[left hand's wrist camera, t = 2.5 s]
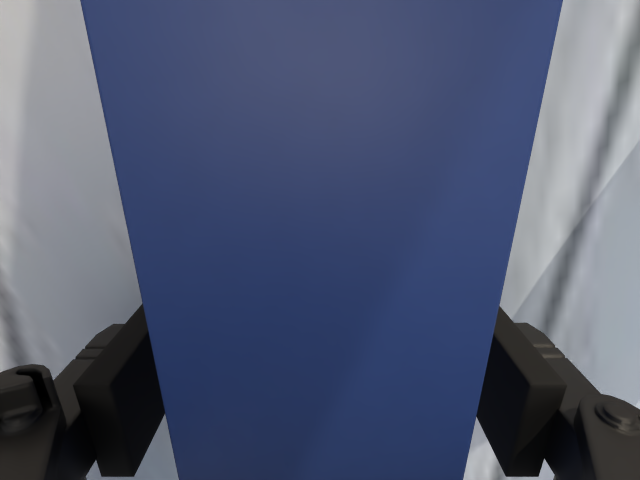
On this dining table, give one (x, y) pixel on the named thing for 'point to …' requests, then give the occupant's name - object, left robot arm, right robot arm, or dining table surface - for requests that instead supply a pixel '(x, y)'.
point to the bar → (321, 219)
